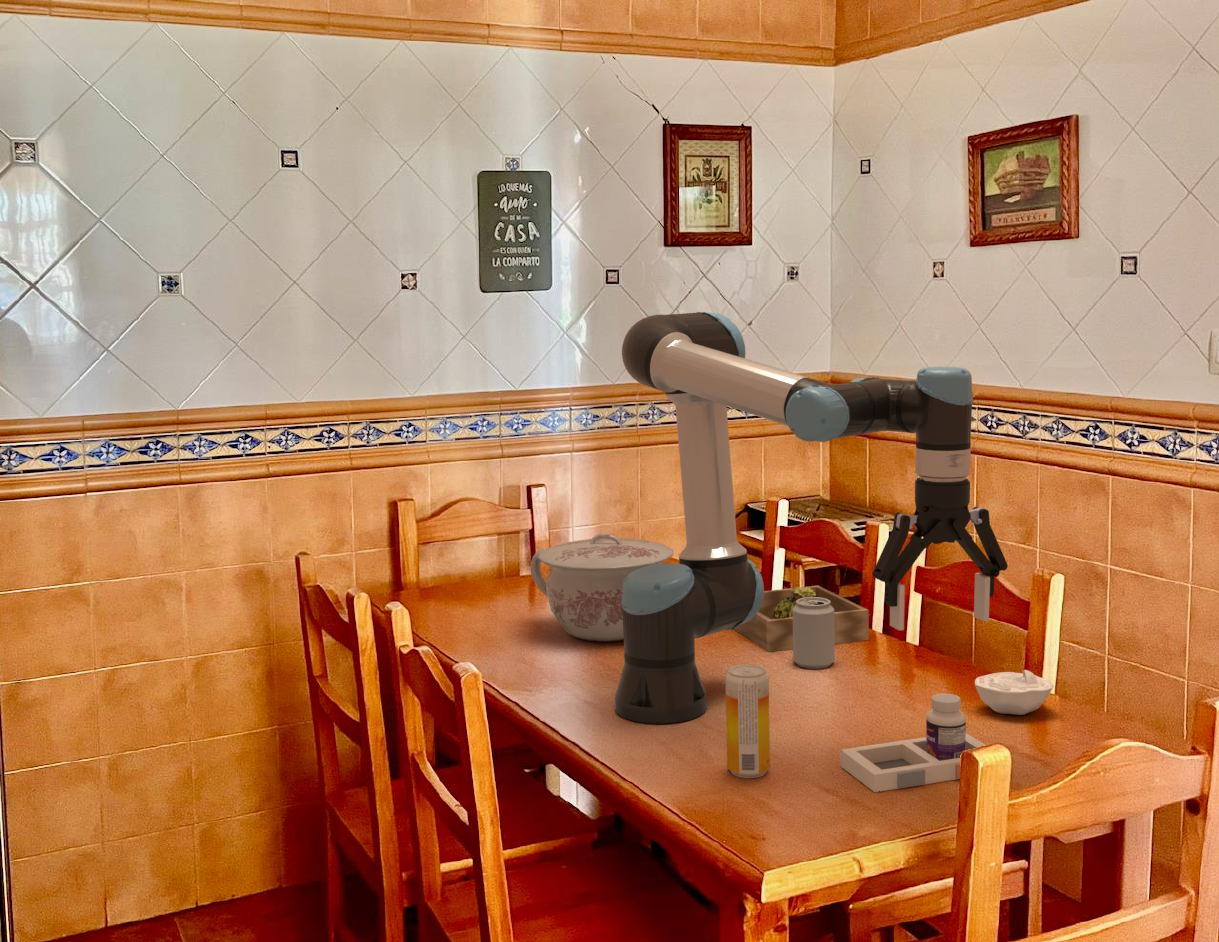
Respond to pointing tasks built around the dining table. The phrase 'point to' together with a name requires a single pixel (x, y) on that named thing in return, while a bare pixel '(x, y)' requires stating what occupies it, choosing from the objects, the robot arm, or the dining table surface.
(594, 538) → the chamber pot
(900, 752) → the socket block
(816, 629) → the can
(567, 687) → the dining table surface
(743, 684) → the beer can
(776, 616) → the green leafy plant
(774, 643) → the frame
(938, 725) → the pill bottle
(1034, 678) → the cell model
